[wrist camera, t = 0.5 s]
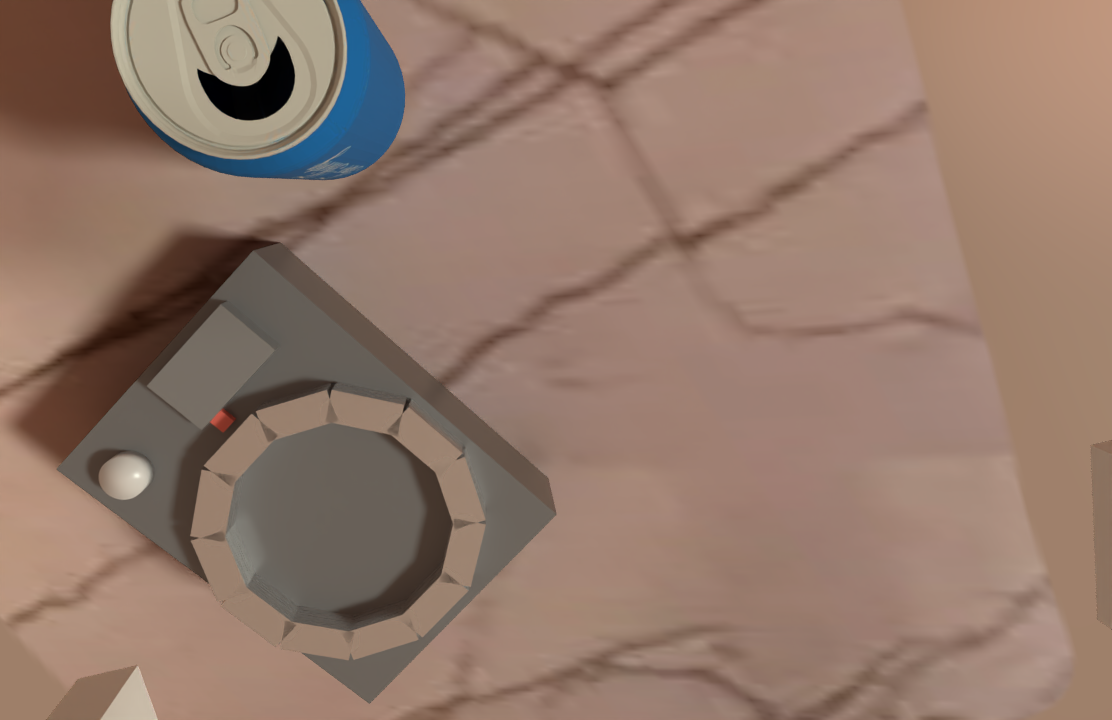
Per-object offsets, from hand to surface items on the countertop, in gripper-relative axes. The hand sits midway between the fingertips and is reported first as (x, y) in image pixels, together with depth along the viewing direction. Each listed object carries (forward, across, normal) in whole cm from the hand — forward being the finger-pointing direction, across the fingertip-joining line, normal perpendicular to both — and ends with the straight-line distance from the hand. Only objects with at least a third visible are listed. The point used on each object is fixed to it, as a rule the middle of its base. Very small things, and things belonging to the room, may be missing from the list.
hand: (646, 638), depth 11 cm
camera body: (+24, -9, -4) cm, 26 cm away
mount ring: (+20, -8, -5) cm, 22 cm away
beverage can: (+24, -6, +11) cm, 27 cm away
